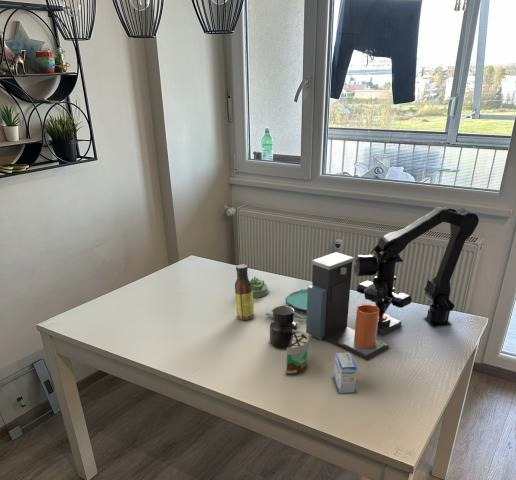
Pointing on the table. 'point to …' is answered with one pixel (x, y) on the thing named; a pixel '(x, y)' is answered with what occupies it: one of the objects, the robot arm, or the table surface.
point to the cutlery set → (296, 302)
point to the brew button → (382, 317)
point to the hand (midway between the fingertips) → (380, 316)
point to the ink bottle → (282, 327)
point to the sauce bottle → (243, 294)
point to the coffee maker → (334, 304)
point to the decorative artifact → (258, 287)
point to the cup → (366, 326)
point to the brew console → (387, 325)
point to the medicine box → (345, 372)
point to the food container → (297, 352)
